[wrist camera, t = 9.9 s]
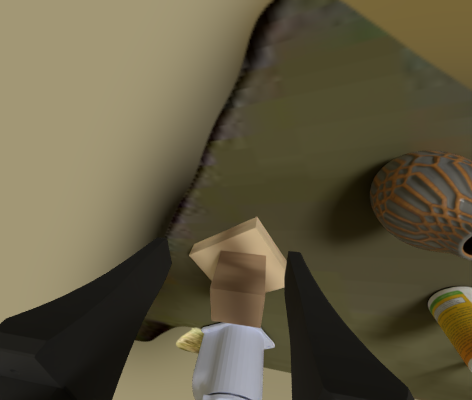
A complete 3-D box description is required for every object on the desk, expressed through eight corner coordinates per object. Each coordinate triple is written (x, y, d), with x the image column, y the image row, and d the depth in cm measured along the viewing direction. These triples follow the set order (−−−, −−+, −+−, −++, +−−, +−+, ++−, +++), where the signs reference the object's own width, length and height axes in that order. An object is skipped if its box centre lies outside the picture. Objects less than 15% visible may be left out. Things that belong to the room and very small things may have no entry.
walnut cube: (221, 281, 26) (211, 320, 22) (220, 250, 24) (209, 288, 20) (262, 286, 26) (260, 328, 21) (266, 255, 23) (265, 295, 19)
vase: (417, 219, 21) (499, 299, 13) (346, 203, 21) (387, 273, 14) (468, 151, 17) (620, 206, 10) (382, 133, 18) (465, 173, 10)
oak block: (233, 286, 30) (230, 302, 28) (195, 241, 27) (188, 255, 25) (293, 268, 27) (294, 284, 25) (257, 214, 24) (255, 227, 22)
